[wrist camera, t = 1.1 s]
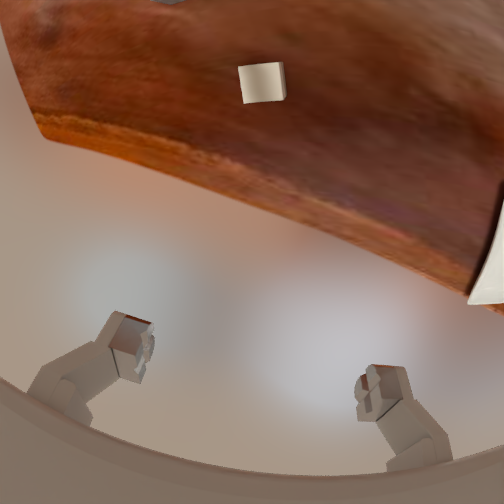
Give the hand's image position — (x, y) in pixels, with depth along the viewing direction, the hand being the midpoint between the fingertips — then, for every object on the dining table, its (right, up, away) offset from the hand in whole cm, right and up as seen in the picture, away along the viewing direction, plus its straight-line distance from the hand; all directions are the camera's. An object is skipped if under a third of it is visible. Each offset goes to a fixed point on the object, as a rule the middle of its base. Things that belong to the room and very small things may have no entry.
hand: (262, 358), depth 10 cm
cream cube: (+2, +27, +25) cm, 37 cm away
